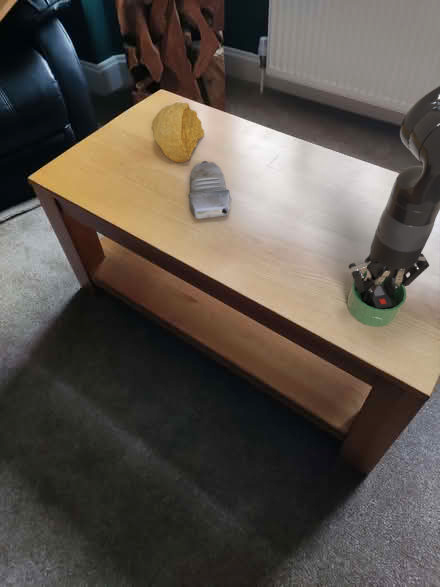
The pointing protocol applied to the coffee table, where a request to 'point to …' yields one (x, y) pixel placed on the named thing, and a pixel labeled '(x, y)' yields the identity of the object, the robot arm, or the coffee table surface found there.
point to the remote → (380, 299)
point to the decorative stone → (177, 131)
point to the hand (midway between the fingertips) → (375, 298)
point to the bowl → (374, 315)
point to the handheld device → (208, 191)
